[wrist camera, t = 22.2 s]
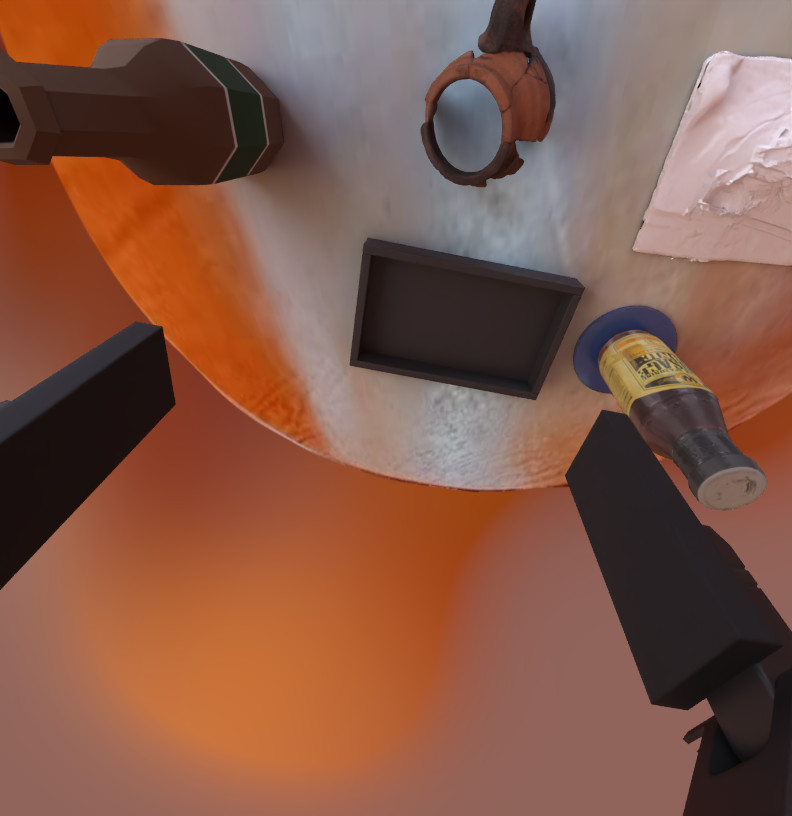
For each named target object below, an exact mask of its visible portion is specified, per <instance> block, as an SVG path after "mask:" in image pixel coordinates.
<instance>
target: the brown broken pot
mask: <svg viewBox="0 0 792 816" xmlns="http://www.w3.org/2000/svg"><path fill="white" fill-rule="evenodd" d="M535 3H536V0H495V3H494V6H493V9H492V13H491V17H490V22H489V25H488V27H487V29H486V31H485V32H484V33H483V34H481V35H480V36H479V40H478V47H479V49H480V50H481V51H482V52H484V53H486V54H482V55H481V56H480V57H478V58H475V59H474V53H473V51H472V50H471V51H468V52H466V53H465V54H463V55H462V56H460V57H459V58H457V59H456V60H454V61H453V62H452V63H450V64H449V65H448V66H447V67H446V68H445V69H444V71H443V72H442V73H441V74H440V75H439V76H438V77H437V79H436V80H435V81H434V82H433V83H432V85H431V87H430V89H429V91H428V93H427V95H426V98H425V101H426V113H425V114H426V115H425V119H426V123H424V124H423V125H422V127H421V136H422V141H423V144H424V147H425V150H426V153H427V155H428V158H429V159H430V162H431V163H432V164H433V166H434V167H435V168H436V169H437V170H439V172H440V174H442V175H443V176H444V177H445V178H446V179H448V180H450V181H452V182H453V183H456V184H459V185H465V186H466V185H471V186H475V187H486V185H487V184H486V180H488V179H489V178H492V179H500V178H503V177H505V176H507V175H512V174H515V173H516V172H517V171H518V170H519V169H520V168H521V166H522V165H523V163H524V160H523V159H521V158H519V155H518V152H517V149H516V144H515V141H516V140H519V141H531V142H535V141H536V140H537V141H539V142H542V141H543V139H544V138H545V136H546V135H547V133H548V131H549V128H550V125H551V122H552V119H553V115H554V109H555V103H556V102H555V85H554V81H553V77H552V74H551V72H550V70H549V68H548V66H547V64H546V63H545V61H544V59H543V57H542V55H541V54H540V52H539V50H538V48H537V47H534V46H533V45H532V41H531V34H530V24H531V20H532V15H533V11H534V7H535ZM526 57H528V59H529V63H528V61H527V58H526ZM462 79H472V80H476V81H478V82H480V83H481V84H483V85H484V86H485V87H486V88H487V89H488V90H489V91H490V92H491V93H492V95H493V96H494V98H495V100H496V101H497V104H498V106H499V109H500V112H501V117H502V139H501V145H500V148H499V150H498V152H497V154H496V156H495V158H494V159H493V160H492V162H491V163H490V164H489V165H488V166H486V167H485V168H484V169H482V170H480V171H477V172H464V171H461V170H459V169H457V168H455V167H454V166H452V165H451V164H450V163H449V162H448V161H447V159H446V158H445V157H444V156H443V154H442V152H441V151H440V149H439V146H438V144H437V141H436V137H435V132H434V123H433V117H434V115H435V113H436V111H437V102H438V100H439V98H440V96H441V94H442V93H443V91H444V90H445V89H446V88H447V87H448V86H449V85H450V84H452V83H453V82H455V81H458V80H462Z"/></svg>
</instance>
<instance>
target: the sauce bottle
mask: <svg viewBox="0 0 792 816" xmlns="http://www.w3.org/2000/svg"><path fill="white" fill-rule="evenodd" d="M598 365H599V370H600V373H601V375H602V377H603V379H604V381H605V382H606V384H607V386H608V387H609V389H610V391H611V392H612V394H613V395H614V397H615V399H616V400H617V402H618V404H619V405H620V407H621V409H622V410H623V412H624V413H625V414H627V415H628V417H629V418H630V420H631V421H632V423H633V424H634V425H635V427H636V428H637V430H638V431H639V433H640V434H641V436H642V437H643V439H644V440H645V442H646V443H647V445H648V446H649V448H650V449H651V450H652V451H653V452H654V453H656V454H658V455H660V456H663V457H665V458H668V459H672V460H673V462H674V463H675V464H676V465H677V466H678V467H679V468H680V469H681V471H682V472H683V474H684V475H685V476H686V478H687V479H688V484H689V488H690V490H691V491H692V493H693V495H694V496H695V497H696V498H697V500H698V501H699V502H700V503H701V504H702V505H704V506H705V507H707V508H710V509H716V510H732V509H737V508H739V507H742V506H744V505H748V504H750V503H752V502H754V501H755V500H756V499H758V498H759V496H761V495H762V494H763V493H764V491H765V489H766V486H767V480H766V476H765V475H764V473H763V471H762V470H761V469H760V467H759V466H758V465H757V463H756V462H755V461H754V460H752V459H751V458H749V457H746V456H745V455H744V454H743V453H742V452H741V451H740V450H739V449H738V447H736V446H735V445H734V443H733V442H732V440H731V438H730V437H729V434H728V431H727V428H726V425H725V421H724V418H723V415H722V412H721V409H720V405H719V402H718V399H717V397H716V395H715V394H714V393H713V392H712V391H711V390H710V389H709V388H708V387H707V386H706V385H705V384H704V383H703V382H702V381H701V380H700V379H699V378H698V377H697V376H696V375H695V374H694V373H693V372H692V371H691V370H690V369H689V368H688V367H687V366H686V365H685V364H684V363H683V362H682V361H681V360H680V359H679V358H678V357H677V356H676V355H675V354H674V353H673V352H672V351H671V350H670V349H669V348H668V347H667V346H666V345H665V344H664V343H663V342H662V341H661V340H660V339H659V338H657V337H655V336H653V335H651V334H650V333H649V332H646V331H642V330H630V331H625V332H623V333H619V334H616V335H614V336H613V337H612V338H610V339H609V341H608V342H607V343H606V344H605V345H604V346H603V347H602V349H601V350H600V352H599V357H598Z"/></svg>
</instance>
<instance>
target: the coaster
mask: <svg viewBox="0 0 792 816" xmlns="http://www.w3.org/2000/svg"><path fill="white" fill-rule="evenodd" d="M630 330H642V331H646V332H649V333H650V334H651V335H653V336H655V337H657V338H659V339H660V340H661V341H662V342H663V343H664V344H665V345H666V346H667V347H668V348H669V349H670V350H671V351H672V352H673V353H675V350H676V345H677V334H676V330H675V328H674V325H673V324H672V322H671V321H670V319H668V318H667V317H666V316H665V315H664V314H663V313H661V312H659V311H658V310H655V309H653V308H650V307H645V306H629V307H623V308H619V309H616V310H613V311H611V312H609V313H606V314H604V315H603V316H601V317H599V318H598V319H597V320H595V321H594V322H593V323H592V324H591V325H589V326H588V327H587V329H586V330H585V331H584V332H583V333H582V335H581V336H580V338H579V340H578V342H577V344H576V346H575V349H574V354H573V365H574V369H575V372H576V374H577V376H578V377H579V379H580V380H581V381H582V382H583V383H584V384H585V385H586V386H587V387H589V388H591V389H593V390H595V391H598V392H602V393H609V394H612V392H611V391H610V389H609V387H608V386H607V384H606V382H605V381H604V379H603V377H602V375H601V373H600V370H599V365H598V357H599V352H600V350H601V349H602V347H603V346H604V345H605V344H606V343H607V342H608V341H609V339H610V338H612V337H613V336H614V335H616V334H619V333H623V332H625V331H630Z"/></svg>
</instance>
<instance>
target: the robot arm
mask: <svg viewBox="0 0 792 816" xmlns="http://www.w3.org/2000/svg"><path fill="white" fill-rule="evenodd" d="M175 404H176V403H175V397H174V392H173V386H172V380H171V374H170V368H169V362H168V356H167V351H166V345H165V339H164V333H163V327H162V326H156V325H151V324H146V323H140V322H134V323H133V324H131V325H130V326H128V327H127V328H125V329H123V330H122V331H121V332H119V333H117V334H116V335H114V336H113V337H111V338H109V339H108V340H106V341H105V342H103V343H102V344H100V345H99V346H97V347H96V348H94V349H92V350H91V351H89V352H88V353H86V354H84V355H83V356H81V357H80V358H78V359H77V360H75V361H74V362H72V363H70V364H69V365H67V366H66V367H64V368H63V369H61V370H60V371H58V372H56V373H55V374H53V375H52V376H50V377H49V378H47V379H45V380H44V381H42V382H41V383H39V384H38V385H36V386H35V387H33V388H31V389H30V390H28V391H27V392H25V393H24V394H22V395H21V396H19V397H18V398H16V399H14V400H13V401H8V400H6V401H4V402H1V403H0V590H1V589H2V588H3V587H4V585H5V584H6V583H7V582H8V581H9V580H10V579H11V578H12V577H13V576H14V575H15V574H16V573H17V572H18V571H19V570H20V569H21V567H22V566H23V565H24V564H25V563H26V562H27V561H28V560H29V559H30V558H31V557H32V556H33V555H34V554H35V553H36V552H37V550H39V548H40V547H41V546H42V545H43V544H44V543H45V542H46V541H47V540H48V539H49V538H50V537H51V536H52V535H53V534H54V532H55V531H56V530H57V529H58V528H59V527H60V526H61V525H62V524H63V523H64V522H65V521H66V520H67V518H69V517H70V515H72V513H73V512H74V511H75V510H76V509H77V508H78V507H79V506H80V505H81V504H82V503H83V502H84V501H85V500H86V499H87V498H88V496H89V495H90V494H91V493H92V492H93V491H94V490H95V489H96V488H97V487H98V486H99V485H100V484H101V483H102V482H103V481H104V480H105V478H107V476H108V475H109V474H110V473H111V472H112V471H113V470H114V469H115V468H116V467H117V466H118V465H119V464H120V463H121V462H122V460H123V459H124V458H125V457H126V456H127V455H128V454H129V453H130V452H131V451H132V450H133V449H134V448H135V447H136V446H137V445H138V444H139V442H140V441H141V440H142V439H143V438H144V437H145V436H146V435H147V434H148V433H149V432H150V431H151V430H152V429H153V428H154V427H155V426H156V425H157V423H158V422H159V421H160V420H161V419H162V418H163V417H164V416H165V415H166V414H167V413H168V412H169V411H170V410H171V408H173V406H174V405H175ZM565 477H566V479H567V482H568V485H569V487H570V490H571V493H572V495H573V498H574V501H575V503H576V506H577V509H578V511H579V514H580V517H581V519H582V522H583V524H584V527H585V530H586V532H587V535H588V538H589V540H590V543H591V546H592V548H593V551H594V554H595V556H596V559H597V562H598V564H599V567H600V569H601V572H602V575H603V577H604V580H605V583H606V585H607V588H608V590H609V593H610V596H611V599H612V601H613V604H614V606H615V609H616V612H617V614H618V617H619V620H620V622H621V625H622V627H623V630H624V633H625V636H626V638H627V641H628V644H629V646H630V649H631V652H632V654H633V657H634V659H635V662H636V665H637V667H638V670H639V673H640V675H641V678H642V680H643V683H644V685H645V688H646V691H647V694H648V696H649V699H650V701H651V704H653V705H659V706H665V707H671V708H677V709H683V710H689V709H690V708H692V707H693V706H695V705H696V704H698V703H699V702H701V701H702V700H704V699H705V698H707V700H708V702H709V704H710V706H711V708H712V710H713V712H714V714H715V715H714V716H712V717H711V718H709V719H708V720H706V721H704V722H703V723H701V724H699V725H698V726H696V727H695V728H693V729H691V730H690V731H688V732H687V734H686V735H685V736H684V738H683V740H684V741H686V742H687V743H688V744H689V743H691V742H693V741H695V740H696V739H698V738H700V737H702V740H701V744H700V748H699V750H698V751H697V752H698V756H697V760H696V764H695V768H694V772H693V776H692V780H691V784H690V788H689V793H688V797H687V801H686V805H685V809H684V813H683V816H792V632H791V630H790V629H789V628H788V626H787V625H786V623H785V622H784V620H783V619H782V618H781V616H780V615H779V613H778V612H777V611H776V609H775V608H774V606H773V605H772V603H771V602H770V601H769V599H768V598H767V596H766V595H765V594H764V592H763V591H762V590H761V588H758V587H757V582H756V581H755V580H754V578H753V577H752V575H751V574H750V573H749V571H747V570H745V569H744V568H745V566H744V564H743V563H742V561H741V560H740V559H739V557H738V556H737V554H736V553H735V552H734V550H733V549H732V547H731V546H730V545H729V544H728V543H727V542H726V541H725V540H724V539H723V538H722V537H720V536H719V535H718V534H717V533H716V532H715V531H714V530H713V529H712V528H711V527H710V526H706V525H702V524H701V523H700V521H699V520H698V519H697V517H696V516H695V514H694V513H693V511H692V510H691V509H690V507H689V505H688V504H687V503H686V501H685V499H684V498H683V496H682V495H681V493H680V492H679V490H678V489H677V488H676V486H675V485H674V483H673V482H672V480H671V479H670V477H669V476H668V474H667V473H666V471H665V470H664V468H663V467H662V465H661V464H660V462H659V461H658V459H657V458H656V456H655V455H654V454H653V452H652V451H651V449H650V448H649V446H648V445H647V443H646V442H645V440H644V439H643V437H642V436H641V434H640V433H639V431H638V430H637V428H636V427H635V425H634V424H633V423H632V421H631V420H630V418H629V417H628V415H627V414H622V413H617V412H612V411H606V410H602V411H601V413H600V415H599V416H598V418H597V420H596V422H595V423H594V425H593V427H592V429H591V430H590V432H589V434H588V436H587V438H586V439H585V441H584V443H583V445H582V446H581V448H580V450H579V452H578V453H577V455H576V457H575V459H574V460H573V462H572V464H571V466H570V468H569V469H568V471H567V473H566V475H565Z"/></svg>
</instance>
